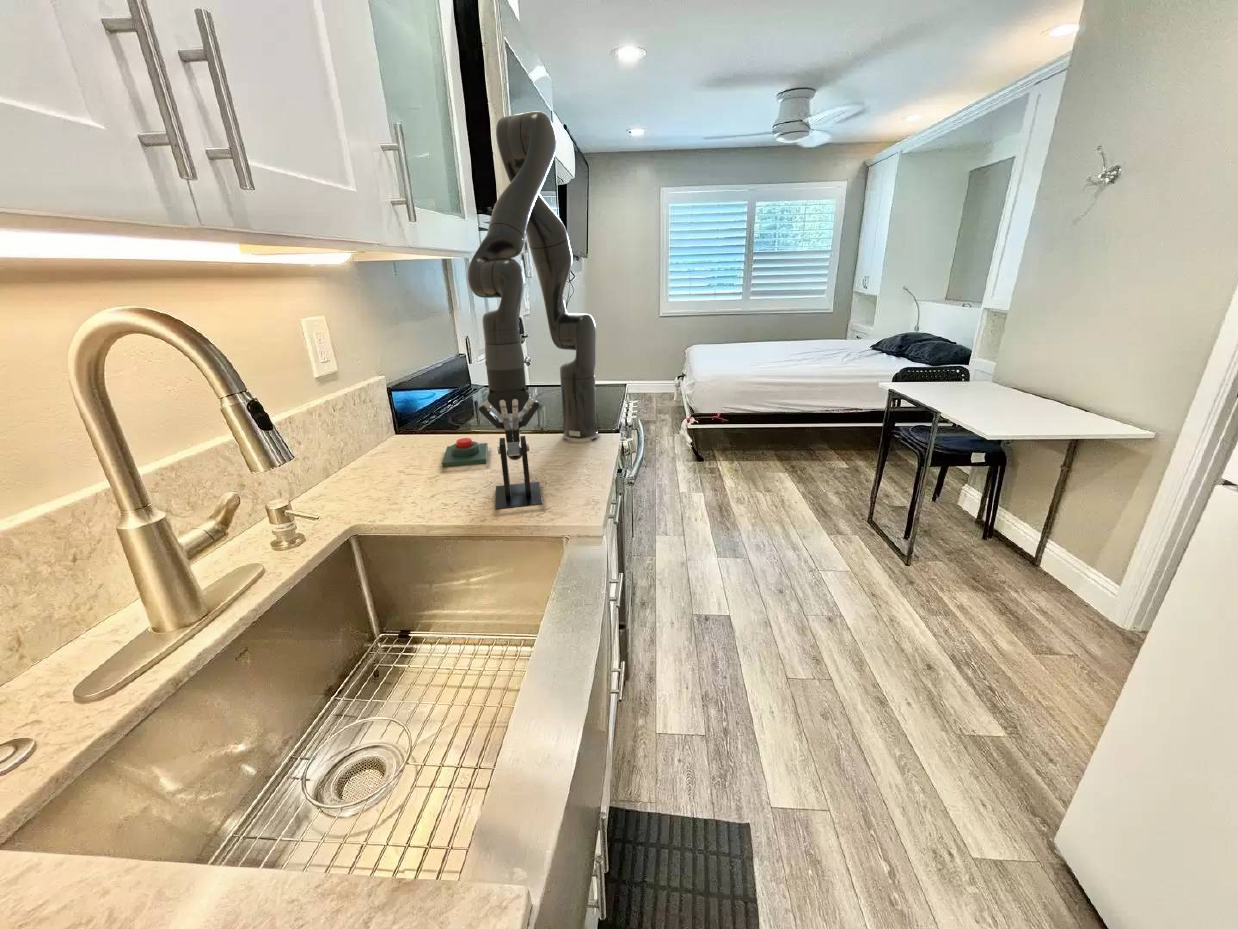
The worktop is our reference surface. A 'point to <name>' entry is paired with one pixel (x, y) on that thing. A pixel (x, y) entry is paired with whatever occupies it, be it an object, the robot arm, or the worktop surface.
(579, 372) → the robot arm
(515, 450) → the lever
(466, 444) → the button
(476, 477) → the worktop surface
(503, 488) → the bracket
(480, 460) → the button box
